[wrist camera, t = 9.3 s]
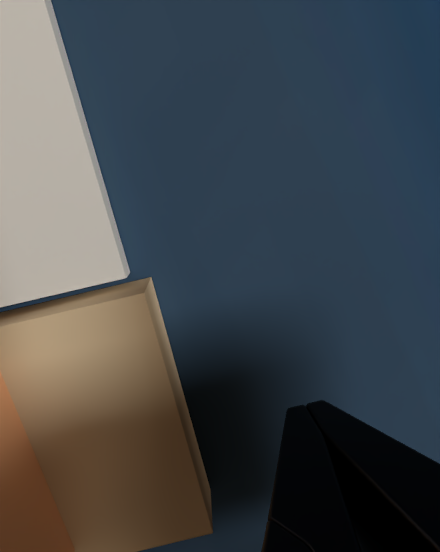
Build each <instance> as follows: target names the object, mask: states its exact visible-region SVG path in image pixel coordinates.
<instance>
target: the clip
mask: <svg viewBox="0 0 440 552" xmlns="http://www.w3.org/2000/svg"><path fill="white" fill-rule="evenodd" d="M0 552H75V548H74V546H73V544H72V541H71V539H70V536H69V534H68V532H67V529H66V527H65V525H64V522H63V520H62V517H61V515H60V513H59V510H58V508H57V505H56V503H55V501H54V498H53V496H52V493H51V491H50V489H49V486H48V484H47V482H46V479H45V477H44V474H43V472H42V470H41V467H40V465H39V462H38V460H37V458H36V455H35V453H34V451H33V448H32V446H31V443H30V441H29V439H28V436H27V434H26V431H25V429H24V427H23V424H22V422H21V420H20V417H19V415H18V412H17V410H16V408H15V405H14V403H13V400H12V398H11V396H10V393H9V391H8V389H7V386H6V384H5V381H4V379H3V377H2V374H1V372H0Z"/></svg>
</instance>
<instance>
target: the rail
mask: <svg viewBox="0 0 440 552" xmlns="http://www.w3.org/2000/svg"><path fill="white" fill-rule="evenodd" d="M0 372H1V374H2V377H3V379H4V381H5V384H6V386H7V389H8V391H9V393H10V396H11V398H12V400H13V403H14V405H15V408H16V410H17V412H18V415H19V417H20V420H21V422H22V424H23V427H24V429H25V431H26V434H27V436H28V439H29V441H30V443H31V446H32V448H33V451H34V453H35V455H36V458H37V460H38V462H39V465H40V467H41V470H42V472H43V474H44V477H45V479H46V482H47V484H48V486H49V489H50V491H51V493H52V496H53V498H54V501H55V503H56V505H57V508H58V510H59V513H60V515H61V517H62V520H63V522H64V525H65V527H66V529H67V532H68V534H69V536H70V539H71V541H72V544H73V546H74V548H75V552H137V551H141V550H145V549H149V548H153V547H157V546H162V545H166V544H170V543H174V542H178V541H182V540H186V539H190V538H195V537H199V536H203V535H207V534H211V533H213V525H212V507H211V490H210V486H209V483H208V479H207V476H206V472H205V468H204V465H203V461H202V458H201V454H200V451H199V447H198V443H197V440H196V436H195V433H194V429H193V425H192V422H191V418H190V415H189V411H188V407H187V404H186V400H185V397H184V393H183V389H182V386H181V382H180V379H179V375H178V372H177V368H176V364H175V361H174V357H173V354H172V350H171V346H170V343H169V339H168V336H167V332H166V328H165V325H164V321H163V318H162V314H161V311H160V307H159V303H158V300H157V296H156V293H155V289H154V285H153V282H152V278H151V277H149V278H145V279H141V280H136V281H132V282H128V283H124V284H119V285H115V286H111V287H107V288H102V289H98V290H94V291H90V292H85V293H81V294H77V295H72V296H68V297H64V298H60V299H55V300H51V301H47V302H43V303H38V304H34V305H30V306H26V307H21V308H17V309H13V310H8V311H4V312H0Z"/></svg>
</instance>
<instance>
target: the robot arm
mask: <svg viewBox="0 0 440 552" xmlns="http://www.w3.org/2000/svg"><path fill="white" fill-rule="evenodd" d="M261 552H440V464H439V463H437V462H436V461H434V460H432V459H430V458H428V457H426V456H425V455H423V454H421V453H419V452H417V451H415V450H414V449H412V448H410V447H408V446H406V445H404V444H403V443H401V442H399V441H397V440H395V439H393V438H392V437H390V436H388V435H386V434H384V433H383V432H381V431H379V430H377V429H375V428H373V427H372V426H370V425H368V424H366V423H364V422H362V421H361V420H359V419H357V418H355V417H353V416H351V415H350V414H348V413H346V412H344V411H342V410H340V409H339V408H337V407H335V406H333V405H331V404H329V403H328V402H326V401H323V400H320V401H316V402H312V403H308V404H307V405H306V406H304V405H300V406H296V407H291V408H288V409H287V412H286V418H285V423H284V429H283V435H282V441H281V446H280V452H279V458H278V464H277V469H276V475H275V481H274V487H273V492H272V498H271V504H270V510H269V515H268V522H267V526H266V531H265V537H264V542H263V547H262V551H261Z"/></svg>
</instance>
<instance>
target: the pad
mask: <svg viewBox="0 0 440 552" xmlns="http://www.w3.org/2000/svg"><path fill="white" fill-rule="evenodd" d="M129 273H130V270H129V267H128V263H127V260H126V256H125V253H124V250H123V246H122V243H121V239H120V236H119V232H118V229H117V226H116V222H115V219H114V215H113V212H112V209H111V205H110V202H109V198H108V195H107V191H106V188H105V185H104V181H103V178H102V174H101V171H100V167H99V164H98V161H97V157H96V154H95V150H94V147H93V143H92V140H91V137H90V133H89V130H88V126H87V123H86V119H85V116H84V113H83V109H82V106H81V102H80V99H79V95H78V92H77V89H76V85H75V82H74V78H73V75H72V71H71V68H70V65H69V61H68V58H67V54H66V51H65V48H64V44H63V41H62V37H61V34H60V30H59V27H58V24H57V20H56V17H55V13H54V10H53V6H52V3H51V0H0V307H4V306H9V305H13V304H17V303H21V302H26V301H30V300H34V299H39V298H43V297H47V296H51V295H56V294H60V293H64V292H68V291H73V290H77V289H81V288H86V287H90V286H94V285H98V284H103V283H107V282H111V281H115V280H120V279H124V278H127V276H128V275H129Z"/></svg>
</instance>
